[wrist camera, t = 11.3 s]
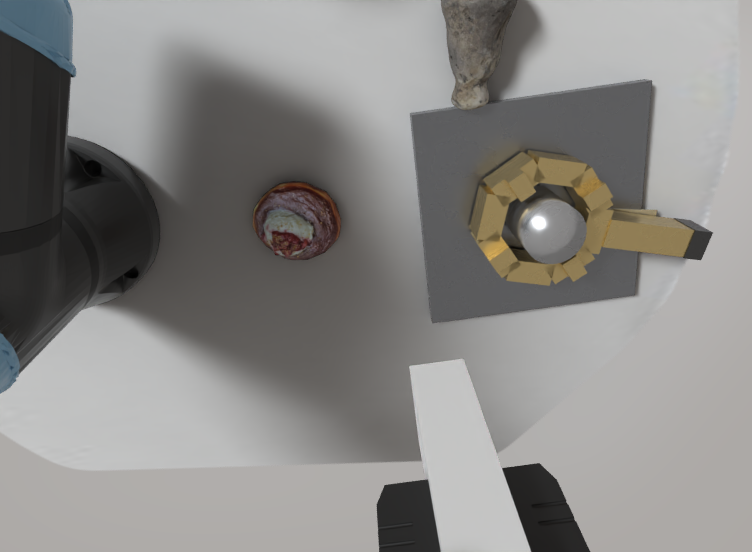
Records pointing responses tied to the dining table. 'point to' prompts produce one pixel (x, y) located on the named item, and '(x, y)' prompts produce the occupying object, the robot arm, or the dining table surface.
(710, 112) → the dining table surface
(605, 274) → the base plate
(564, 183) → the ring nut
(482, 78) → the stone
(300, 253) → the pastry
